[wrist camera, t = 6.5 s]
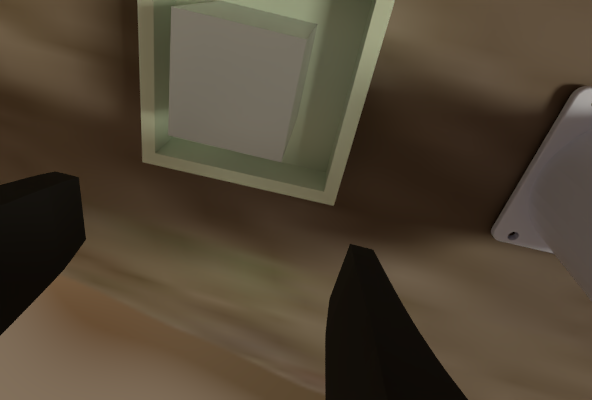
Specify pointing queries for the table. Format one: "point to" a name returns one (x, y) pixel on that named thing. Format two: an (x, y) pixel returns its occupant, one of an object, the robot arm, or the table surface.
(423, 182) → the table surface
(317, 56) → the green bin
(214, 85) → the grey block
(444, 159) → the table surface
